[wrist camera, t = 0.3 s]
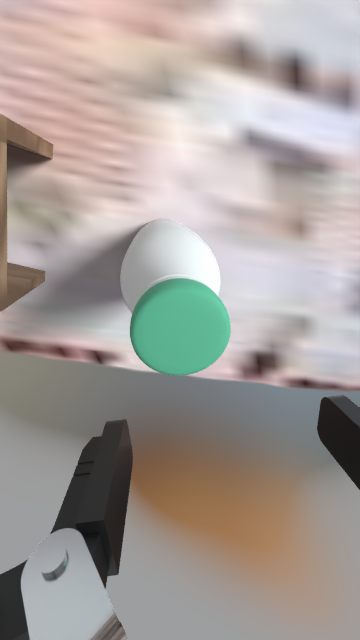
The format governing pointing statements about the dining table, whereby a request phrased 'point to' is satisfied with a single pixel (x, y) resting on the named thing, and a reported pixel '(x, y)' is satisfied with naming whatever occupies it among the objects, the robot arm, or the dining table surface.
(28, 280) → the brown keyhole frame
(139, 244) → the milk bottle
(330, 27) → the dining table surface
